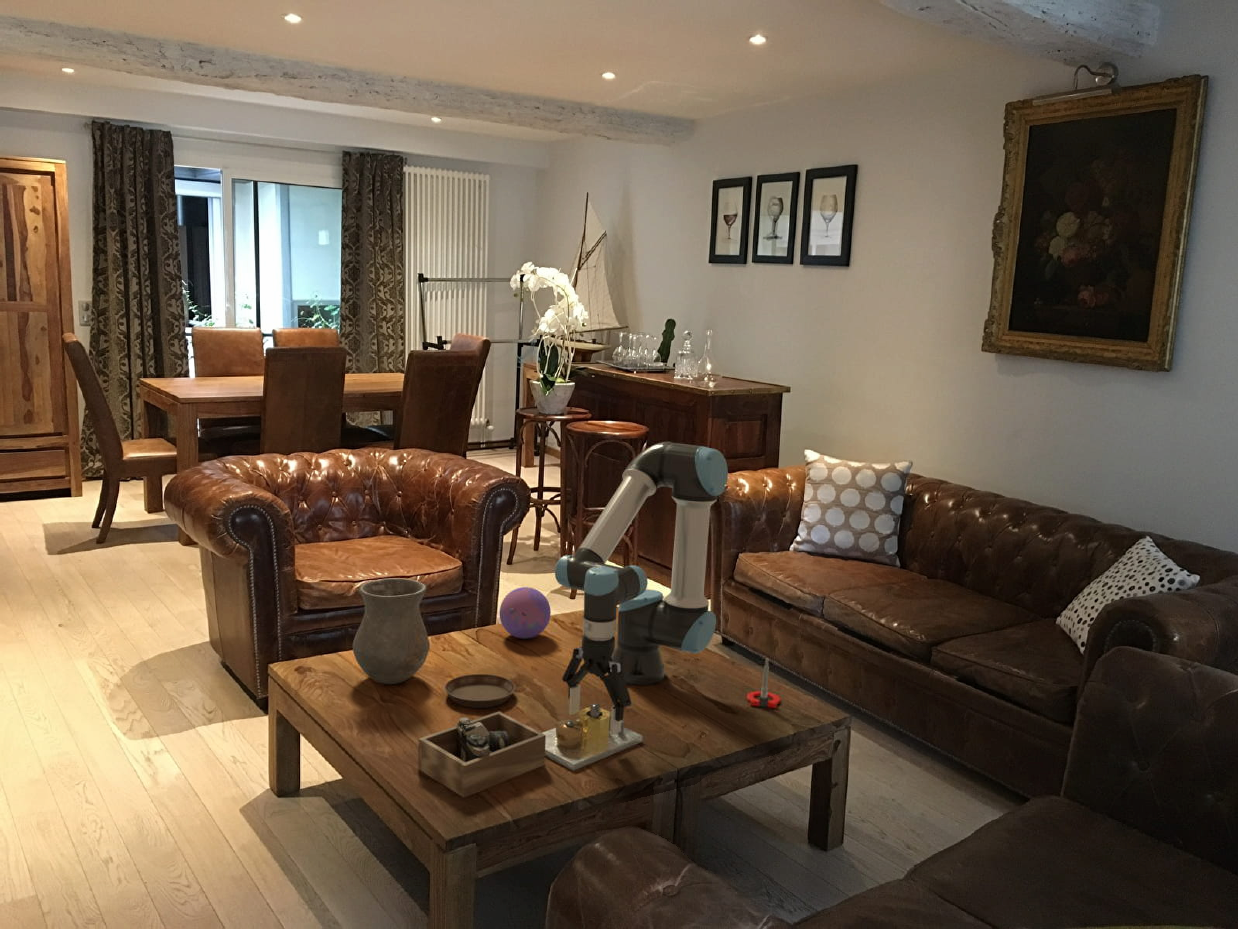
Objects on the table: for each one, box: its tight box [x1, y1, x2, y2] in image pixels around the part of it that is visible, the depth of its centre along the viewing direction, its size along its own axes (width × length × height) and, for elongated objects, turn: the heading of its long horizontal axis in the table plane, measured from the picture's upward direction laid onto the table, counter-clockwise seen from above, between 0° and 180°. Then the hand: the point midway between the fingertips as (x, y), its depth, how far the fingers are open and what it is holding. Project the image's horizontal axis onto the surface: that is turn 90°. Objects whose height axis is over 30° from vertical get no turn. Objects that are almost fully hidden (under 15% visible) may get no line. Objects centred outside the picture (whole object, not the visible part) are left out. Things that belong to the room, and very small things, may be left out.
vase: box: [352, 577, 431, 685], centre depth 263 cm, size 20×19×25 cm
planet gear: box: [578, 706, 610, 741], centre depth 236 cm, size 7×7×5 cm
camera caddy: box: [417, 711, 546, 798], centre depth 221 cm, size 16×22×7 cm
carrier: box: [542, 703, 643, 771], centre depth 234 cm, size 16×22×8 cm
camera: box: [456, 716, 511, 762], centre depth 220 cm, size 16×10×10 cm, turn 25°
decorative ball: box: [499, 586, 552, 640], centre depth 301 cm, size 15×15×15 cm
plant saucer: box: [444, 673, 516, 709], centre depth 258 cm, size 18×18×3 cm
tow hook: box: [746, 657, 781, 709], centre depth 264 cm, size 8×13×9 cm
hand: (594, 722), depth 236 cm, fingers open, 13 cm apart
